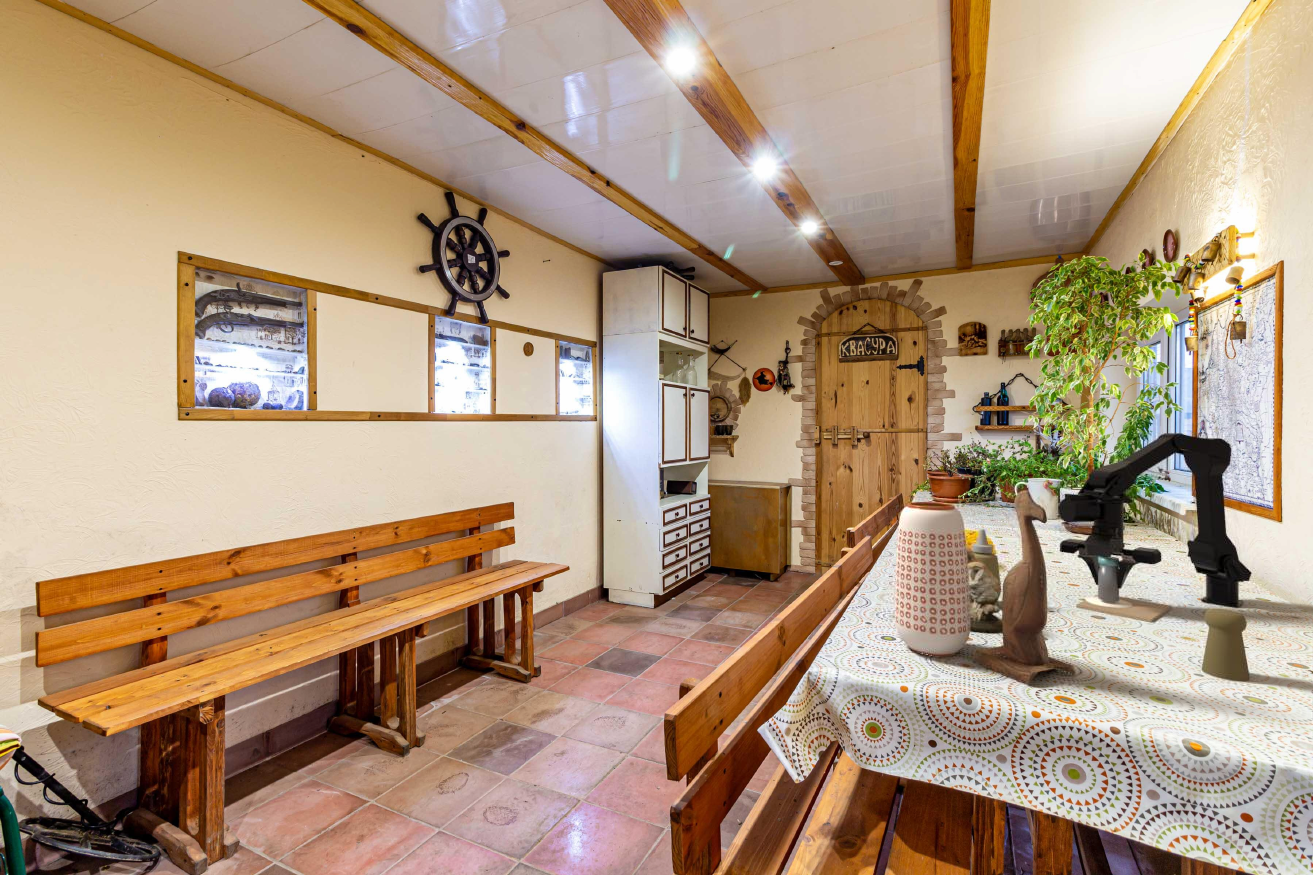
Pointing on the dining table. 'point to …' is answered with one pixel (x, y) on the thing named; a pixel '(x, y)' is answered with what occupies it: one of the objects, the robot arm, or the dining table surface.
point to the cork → (1225, 645)
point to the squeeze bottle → (986, 555)
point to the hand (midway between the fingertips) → (1108, 586)
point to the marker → (1108, 579)
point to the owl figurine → (982, 597)
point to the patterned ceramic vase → (932, 579)
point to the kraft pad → (1126, 608)
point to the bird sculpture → (1024, 606)
